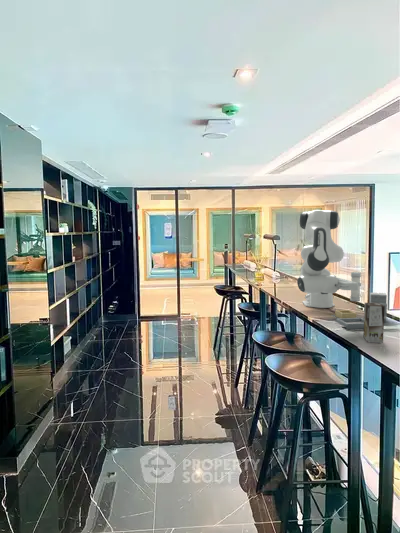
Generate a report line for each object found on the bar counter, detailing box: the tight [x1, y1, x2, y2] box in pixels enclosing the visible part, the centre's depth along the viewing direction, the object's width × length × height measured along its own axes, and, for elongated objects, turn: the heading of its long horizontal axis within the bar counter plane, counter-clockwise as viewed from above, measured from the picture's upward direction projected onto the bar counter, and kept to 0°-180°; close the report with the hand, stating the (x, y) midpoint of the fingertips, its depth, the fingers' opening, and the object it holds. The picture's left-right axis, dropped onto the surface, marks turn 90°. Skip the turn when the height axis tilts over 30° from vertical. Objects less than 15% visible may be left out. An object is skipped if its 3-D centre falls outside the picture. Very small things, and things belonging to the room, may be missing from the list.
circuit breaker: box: [369, 292, 388, 322], centre depth 206 cm, size 8×14×15 cm, turn 158°
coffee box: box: [363, 302, 385, 344], centre depth 174 cm, size 9×6×16 cm
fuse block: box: [330, 309, 359, 319], centre depth 214 cm, size 12×12×4 cm
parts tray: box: [335, 317, 364, 331], centre depth 199 cm, size 12×14×3 cm
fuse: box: [349, 271, 362, 302], centre depth 197 cm, size 4×4×14 cm
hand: (357, 283), depth 197 cm, fingers closed on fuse, 4 cm apart
